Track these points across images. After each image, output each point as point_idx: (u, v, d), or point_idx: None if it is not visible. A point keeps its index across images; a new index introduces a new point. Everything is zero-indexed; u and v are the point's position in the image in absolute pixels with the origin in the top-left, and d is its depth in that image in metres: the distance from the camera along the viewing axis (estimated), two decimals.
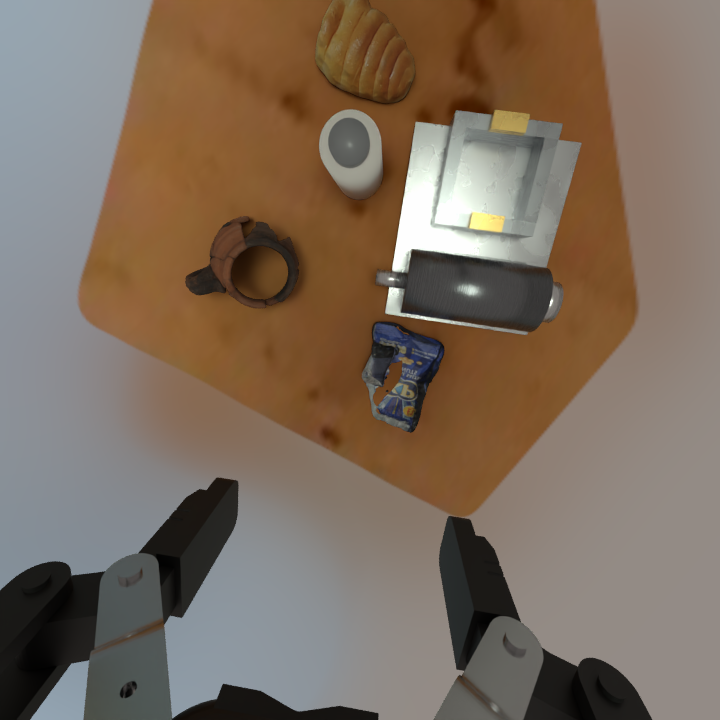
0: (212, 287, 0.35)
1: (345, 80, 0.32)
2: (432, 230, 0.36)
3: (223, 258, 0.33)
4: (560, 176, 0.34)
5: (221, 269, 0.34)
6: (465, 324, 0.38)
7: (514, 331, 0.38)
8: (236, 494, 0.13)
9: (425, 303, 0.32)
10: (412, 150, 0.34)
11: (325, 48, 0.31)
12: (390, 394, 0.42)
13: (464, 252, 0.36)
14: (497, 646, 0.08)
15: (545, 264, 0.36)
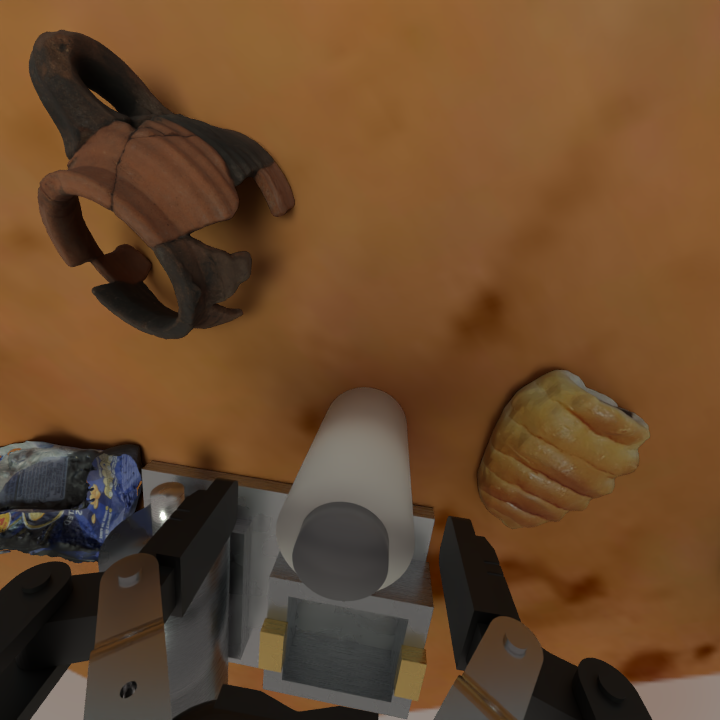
0: (60, 124, 0.13)
1: (514, 430, 0.18)
2: None
3: (121, 172, 0.12)
4: None
5: (96, 161, 0.12)
6: None
7: None
8: (236, 494, 0.13)
9: None
10: None
11: (568, 407, 0.16)
12: None
13: (252, 577, 0.24)
14: (497, 646, 0.08)
15: (248, 664, 0.26)
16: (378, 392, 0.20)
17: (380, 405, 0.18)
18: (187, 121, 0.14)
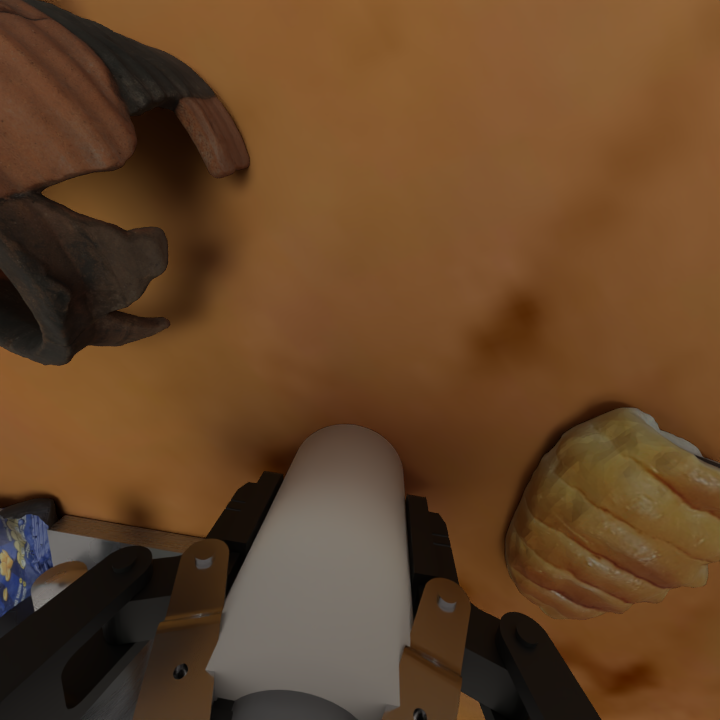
0: None
1: (563, 494, 0.13)
2: None
3: None
4: None
5: None
6: None
7: None
8: None
9: None
10: None
11: (650, 467, 0.11)
12: None
13: None
14: (433, 607, 0.09)
15: None
16: (364, 432, 0.14)
17: (367, 456, 0.13)
18: (53, 7, 0.08)
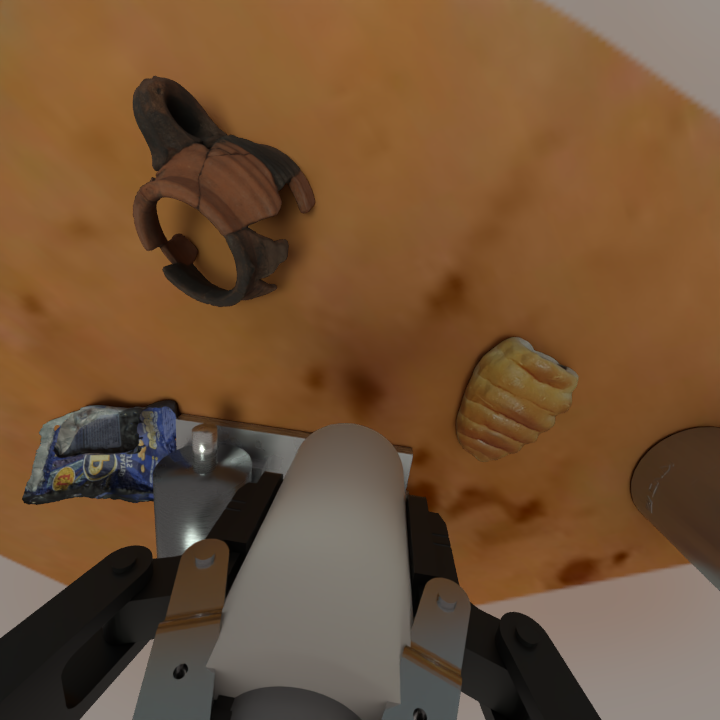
0: (152, 144, 0.18)
1: (481, 383, 0.24)
2: None
3: (202, 181, 0.17)
4: None
5: (182, 173, 0.17)
6: None
7: None
8: None
9: (159, 513, 0.22)
10: None
11: (519, 362, 0.22)
12: None
13: None
14: (432, 607, 0.09)
15: None
16: (364, 431, 0.14)
17: (367, 455, 0.13)
18: (240, 141, 0.19)
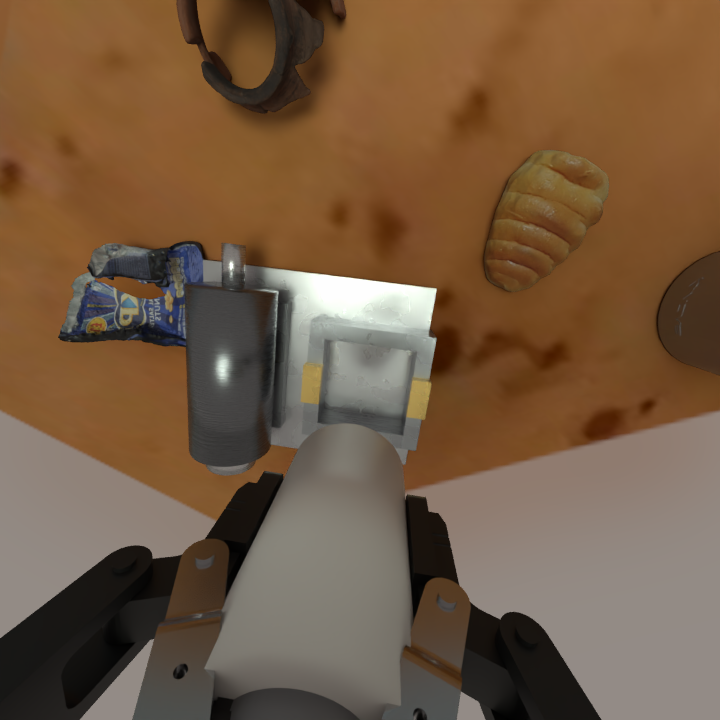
0: None
1: (510, 198, 0.24)
2: (313, 317, 0.28)
3: None
4: None
5: None
6: None
7: None
8: None
9: (191, 317, 0.23)
10: (404, 286, 0.27)
11: (549, 165, 0.22)
12: (117, 293, 0.30)
13: (290, 357, 0.29)
14: (433, 607, 0.09)
15: (284, 445, 0.32)
16: (364, 431, 0.14)
17: (367, 455, 0.13)
18: None
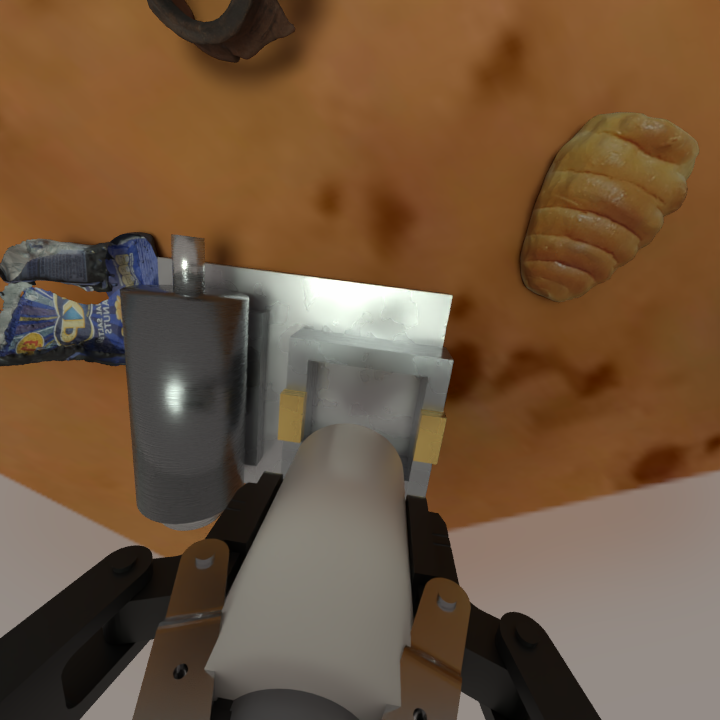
0: None
1: (559, 179, 0.18)
2: (296, 330, 0.22)
3: None
4: None
5: None
6: None
7: None
8: None
9: (127, 333, 0.17)
10: (412, 292, 0.21)
11: (616, 132, 0.17)
12: (57, 303, 0.24)
13: (268, 379, 0.24)
14: (433, 607, 0.09)
15: None
16: (364, 432, 0.14)
17: (367, 455, 0.13)
18: None
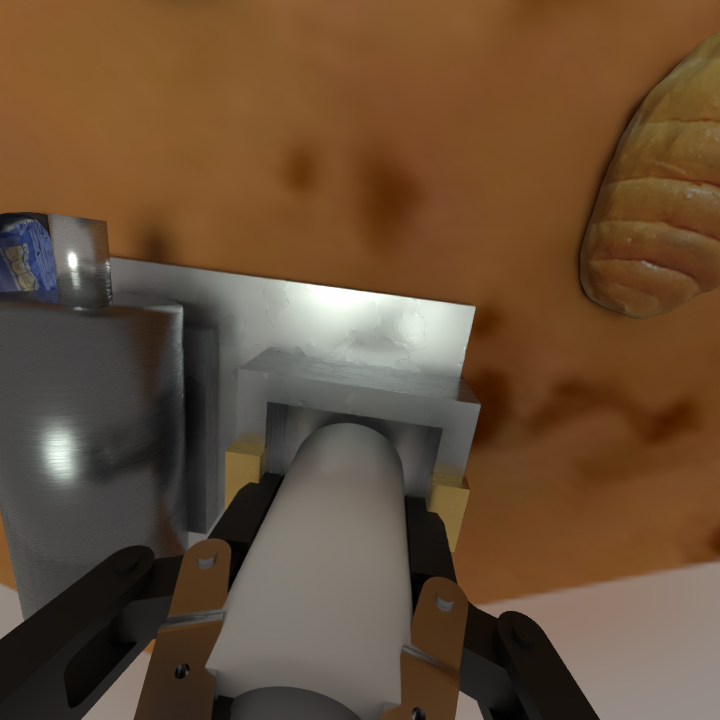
0: None
1: (653, 135, 0.12)
2: (257, 353, 0.16)
3: None
4: None
5: None
6: None
7: None
8: None
9: None
10: (418, 301, 0.15)
11: None
12: None
13: (221, 419, 0.17)
14: (431, 606, 0.09)
15: None
16: (364, 431, 0.14)
17: (367, 455, 0.13)
18: None
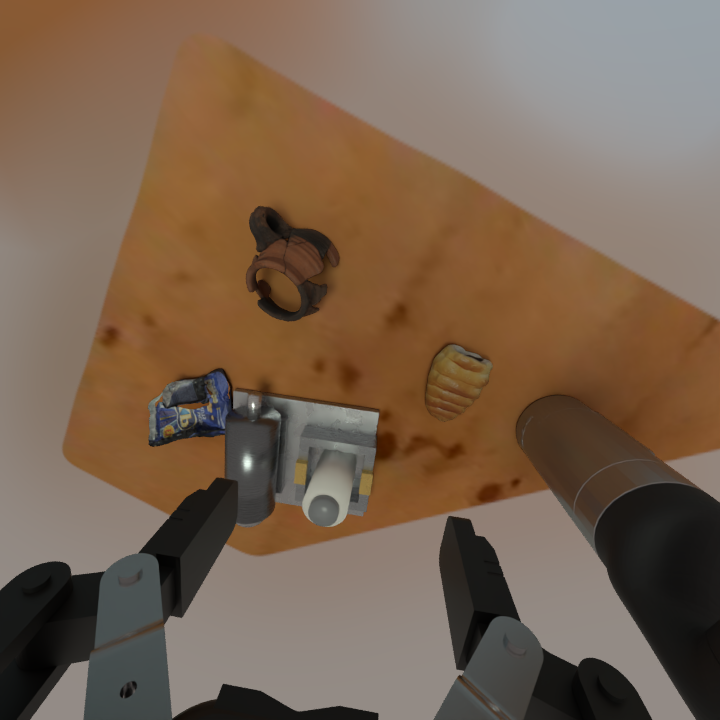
0: (258, 240, 0.34)
1: (434, 373, 0.40)
2: (302, 426, 0.45)
3: (285, 259, 0.34)
4: None
5: (275, 254, 0.34)
6: None
7: None
8: (236, 494, 0.13)
9: (230, 440, 0.39)
10: (359, 410, 0.43)
11: (452, 359, 0.39)
12: (176, 407, 0.46)
13: (288, 449, 0.46)
14: (497, 646, 0.08)
15: (283, 502, 0.48)
16: None
17: (343, 455, 0.43)
18: (301, 233, 0.36)
